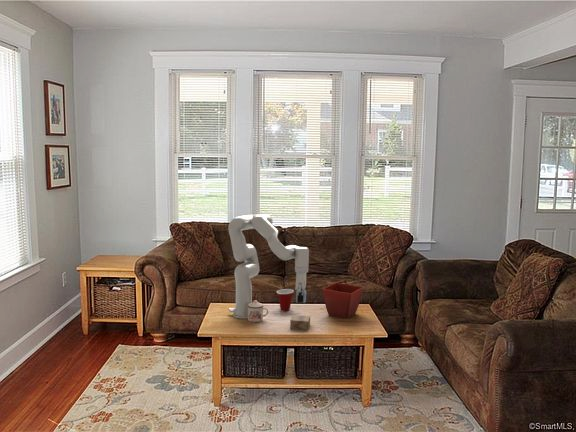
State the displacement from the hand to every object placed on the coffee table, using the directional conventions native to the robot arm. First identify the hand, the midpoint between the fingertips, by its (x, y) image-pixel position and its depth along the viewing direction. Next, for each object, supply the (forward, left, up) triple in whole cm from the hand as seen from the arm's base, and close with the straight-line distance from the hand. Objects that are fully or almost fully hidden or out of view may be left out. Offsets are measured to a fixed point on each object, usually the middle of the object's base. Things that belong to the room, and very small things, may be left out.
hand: (300, 300), depth 302 cm
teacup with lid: (-26, +7, -15) cm, 31 cm away
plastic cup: (-14, +32, -15) cm, 38 cm away
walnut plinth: (0, 0, -15) cm, 15 cm away
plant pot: (+22, +29, -15) cm, 40 cm away
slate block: (0, 0, -1) cm, 1 cm away
